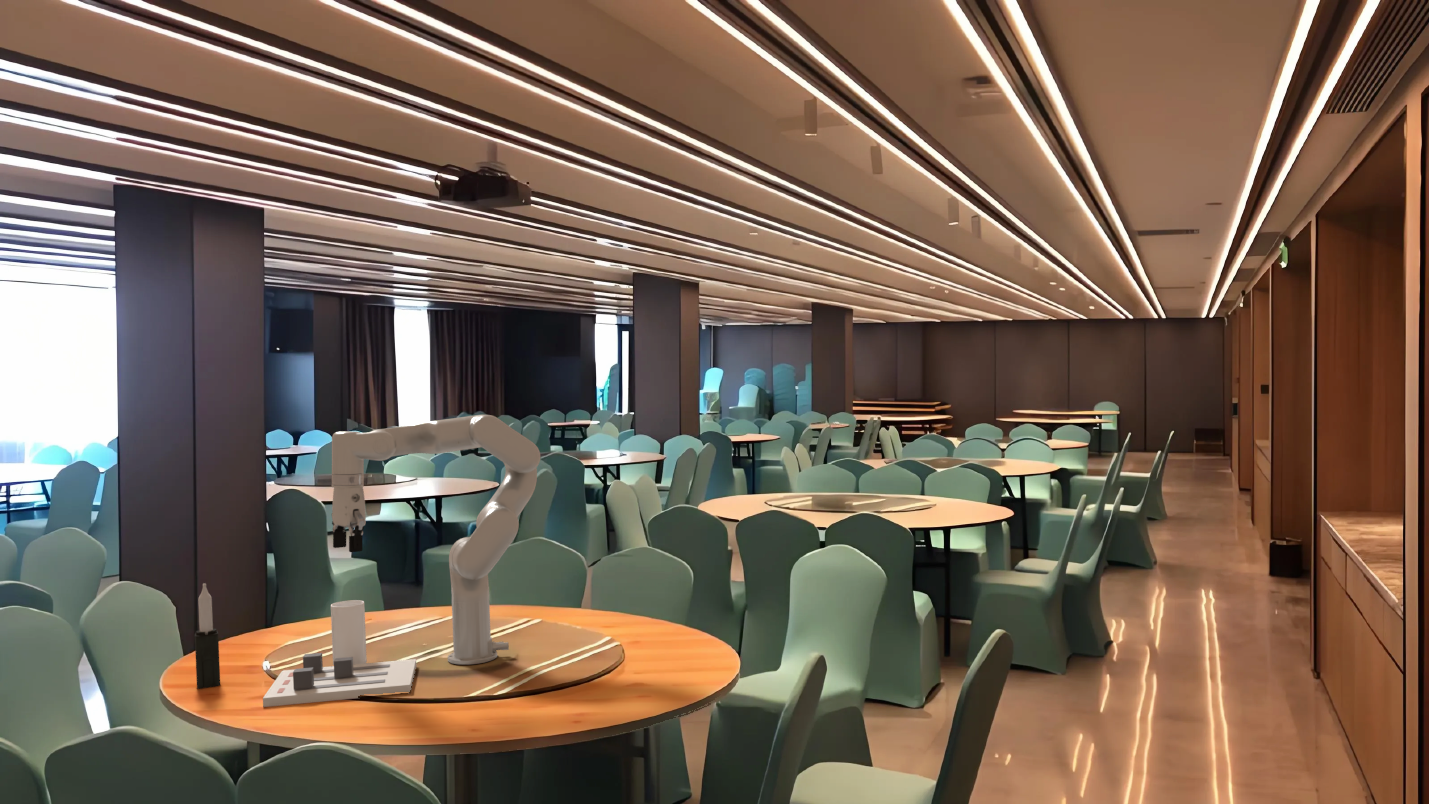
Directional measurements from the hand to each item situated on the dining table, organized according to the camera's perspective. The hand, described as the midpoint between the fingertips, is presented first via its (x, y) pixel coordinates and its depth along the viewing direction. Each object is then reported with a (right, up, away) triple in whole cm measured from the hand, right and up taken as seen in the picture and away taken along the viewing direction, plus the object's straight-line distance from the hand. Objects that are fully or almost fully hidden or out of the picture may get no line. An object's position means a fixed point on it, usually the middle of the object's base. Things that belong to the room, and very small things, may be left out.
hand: (347, 549), depth 261 cm
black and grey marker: (-32, -33, -5) cm, 46 cm away
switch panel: (+3, -31, -10) cm, 33 cm away
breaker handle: (+3, -29, -10) cm, 31 cm away
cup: (-3, -32, +10) cm, 33 cm away
